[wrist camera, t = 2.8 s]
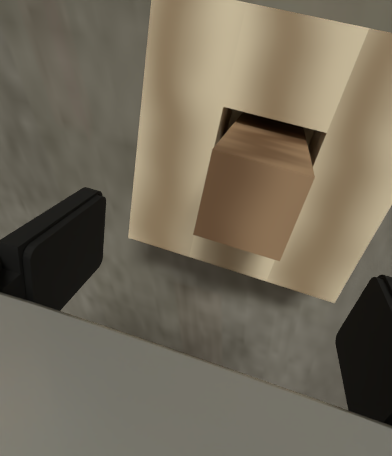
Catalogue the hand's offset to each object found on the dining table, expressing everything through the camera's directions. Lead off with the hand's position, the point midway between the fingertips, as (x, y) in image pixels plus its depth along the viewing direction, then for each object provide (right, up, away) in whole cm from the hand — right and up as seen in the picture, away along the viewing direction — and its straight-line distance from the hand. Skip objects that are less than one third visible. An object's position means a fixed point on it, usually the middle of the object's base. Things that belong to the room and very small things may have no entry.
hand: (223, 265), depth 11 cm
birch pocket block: (+4, +8, +14) cm, 16 cm away
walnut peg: (+4, +7, +13) cm, 15 cm away
